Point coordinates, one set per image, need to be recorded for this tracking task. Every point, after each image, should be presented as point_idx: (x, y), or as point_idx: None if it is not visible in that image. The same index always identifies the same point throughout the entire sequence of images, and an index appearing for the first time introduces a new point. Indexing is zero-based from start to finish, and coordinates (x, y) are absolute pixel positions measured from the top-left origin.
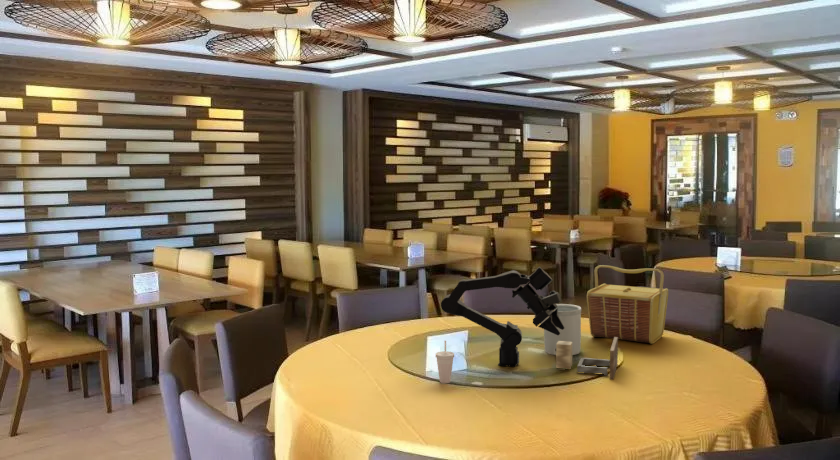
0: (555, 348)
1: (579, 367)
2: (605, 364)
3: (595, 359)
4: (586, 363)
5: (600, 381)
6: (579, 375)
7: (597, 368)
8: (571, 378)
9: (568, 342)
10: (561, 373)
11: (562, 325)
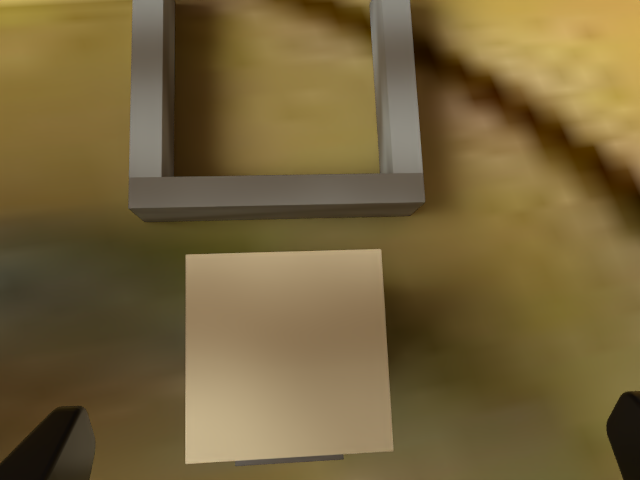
0: (314, 460)
1: (421, 186)
2: (170, 19)
3: (159, 78)
4: (170, 168)
5: (552, 37)
6: (467, 191)
7: (410, 45)
8: (565, 236)
9: (244, 300)
10: (466, 332)
11: (57, 465)
